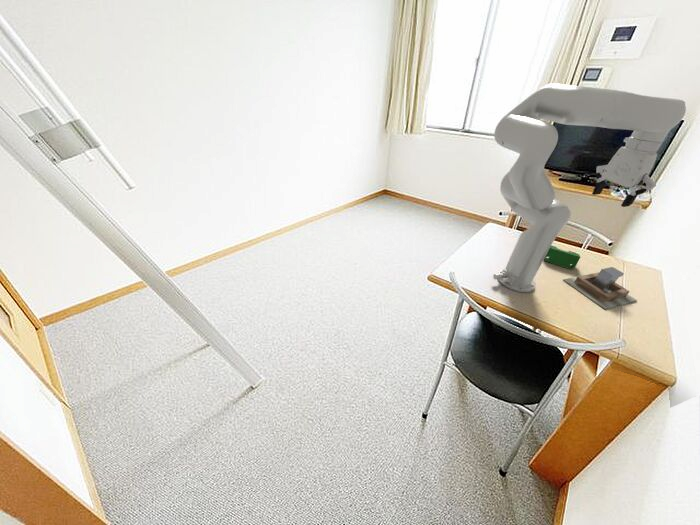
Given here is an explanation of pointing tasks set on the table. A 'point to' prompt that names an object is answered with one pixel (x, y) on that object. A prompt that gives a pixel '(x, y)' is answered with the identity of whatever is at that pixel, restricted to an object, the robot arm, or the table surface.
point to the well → (600, 291)
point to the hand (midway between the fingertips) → (609, 200)
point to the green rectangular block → (562, 257)
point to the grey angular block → (607, 278)
